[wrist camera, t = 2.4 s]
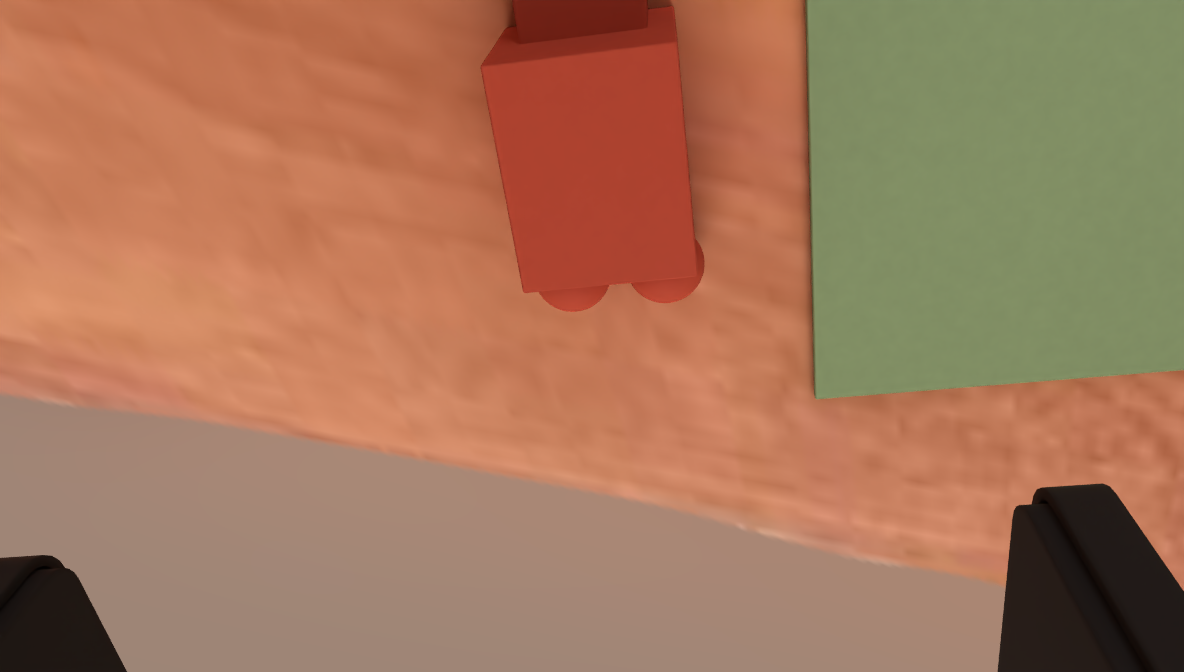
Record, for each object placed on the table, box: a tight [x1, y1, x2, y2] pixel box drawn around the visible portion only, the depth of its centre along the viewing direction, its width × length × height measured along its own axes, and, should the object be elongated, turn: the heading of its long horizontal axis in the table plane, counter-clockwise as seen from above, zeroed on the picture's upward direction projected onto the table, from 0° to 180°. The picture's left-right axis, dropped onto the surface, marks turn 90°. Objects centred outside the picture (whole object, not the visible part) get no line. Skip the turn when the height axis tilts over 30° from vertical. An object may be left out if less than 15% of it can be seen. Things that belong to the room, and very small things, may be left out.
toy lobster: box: [481, 0, 704, 312], centre depth 21 cm, size 10×4×4 cm, turn 8°
